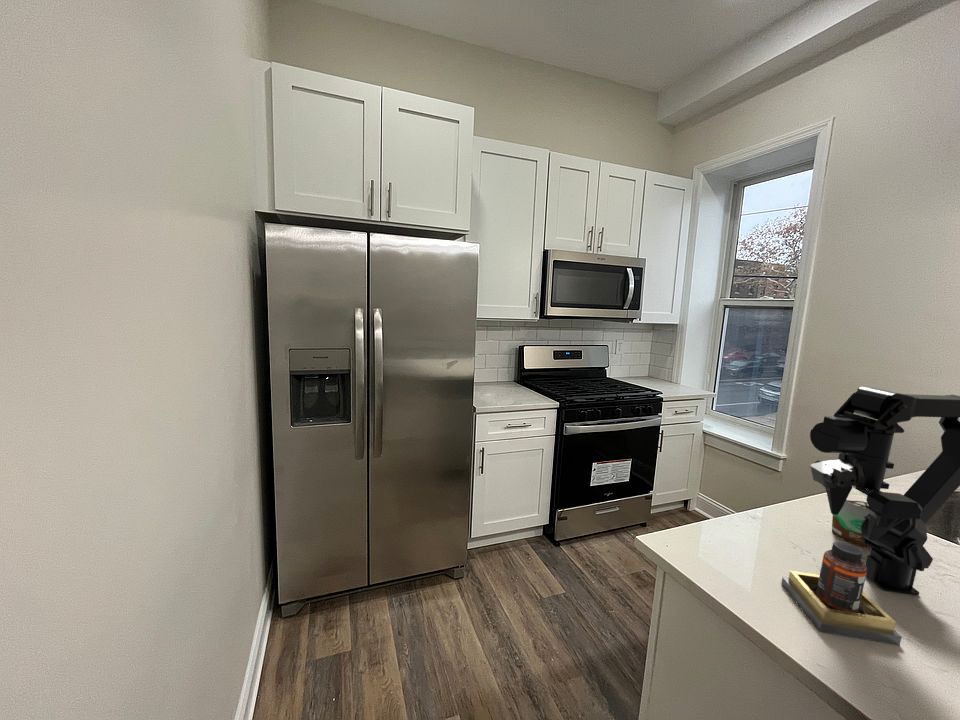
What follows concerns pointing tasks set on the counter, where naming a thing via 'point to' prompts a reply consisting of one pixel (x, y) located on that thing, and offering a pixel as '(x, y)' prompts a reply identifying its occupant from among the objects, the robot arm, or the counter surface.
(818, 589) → the supplement bottle
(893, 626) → the gold-rimmed square tray
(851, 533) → the food container
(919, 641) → the counter surface
